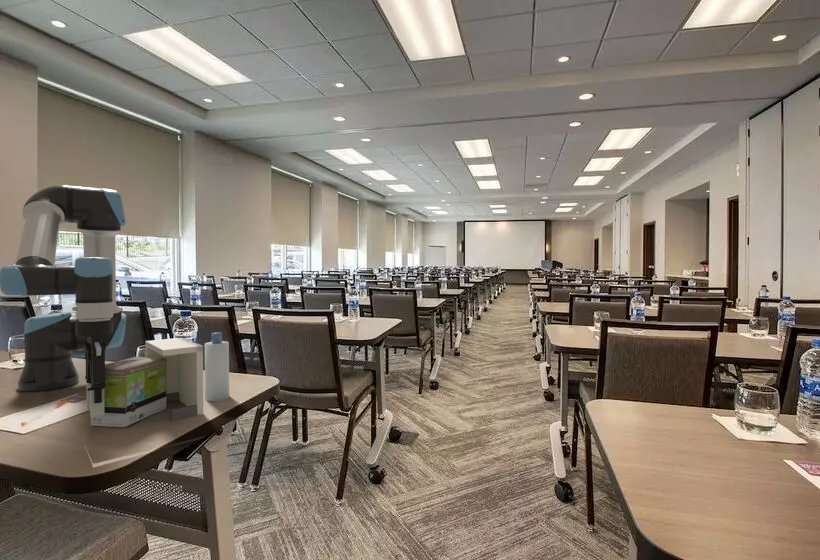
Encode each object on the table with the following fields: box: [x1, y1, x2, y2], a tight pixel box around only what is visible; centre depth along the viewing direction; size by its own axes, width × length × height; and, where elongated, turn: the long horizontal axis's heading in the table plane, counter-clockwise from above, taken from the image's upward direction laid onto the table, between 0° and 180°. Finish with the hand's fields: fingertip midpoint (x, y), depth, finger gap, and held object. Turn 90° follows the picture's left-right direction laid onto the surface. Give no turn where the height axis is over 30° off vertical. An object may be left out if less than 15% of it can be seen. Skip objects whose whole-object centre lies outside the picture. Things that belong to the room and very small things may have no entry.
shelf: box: [145, 337, 204, 416], centre depth 119 cm, size 19×10×18 cm, turn 43°
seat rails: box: [166, 392, 198, 421], centre depth 119 cm, size 18×6×2 cm, turn 43°
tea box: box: [90, 356, 167, 428], centre depth 112 cm, size 15×10×15 cm, turn 174°
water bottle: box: [204, 331, 230, 402], centre depth 128 cm, size 7×7×20 cm
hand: (95, 412), depth 106 cm, fingers open, 6 cm apart
